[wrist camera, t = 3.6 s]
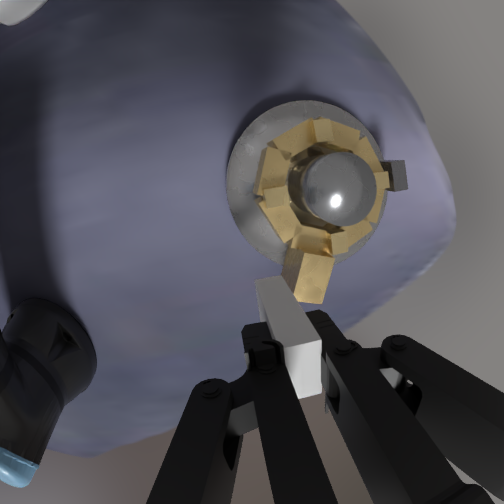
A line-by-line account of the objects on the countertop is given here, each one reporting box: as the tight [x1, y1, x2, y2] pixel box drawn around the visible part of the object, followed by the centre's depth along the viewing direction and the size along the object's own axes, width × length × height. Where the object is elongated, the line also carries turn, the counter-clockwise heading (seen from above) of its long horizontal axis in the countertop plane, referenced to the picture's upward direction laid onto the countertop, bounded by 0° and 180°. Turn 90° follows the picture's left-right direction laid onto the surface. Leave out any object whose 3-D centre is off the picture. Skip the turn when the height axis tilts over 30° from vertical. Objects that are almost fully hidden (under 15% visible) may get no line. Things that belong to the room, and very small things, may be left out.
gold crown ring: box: [253, 117, 390, 304], centre depth 26 cm, size 17×12×5 cm
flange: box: [226, 100, 408, 265], centre depth 25 cm, size 18×18×9 cm
